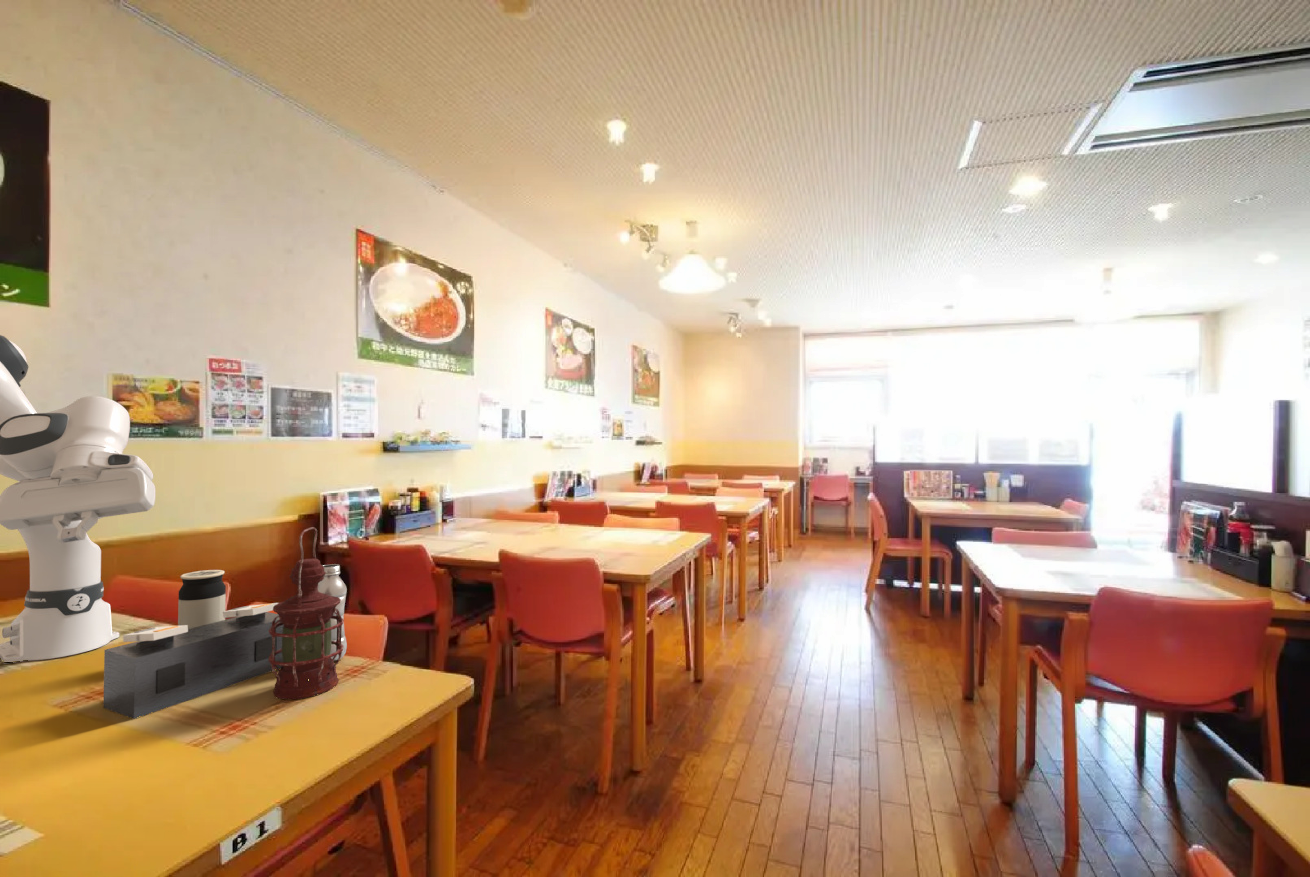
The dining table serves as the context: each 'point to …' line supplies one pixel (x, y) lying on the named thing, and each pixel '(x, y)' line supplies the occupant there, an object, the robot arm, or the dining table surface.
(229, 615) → the block
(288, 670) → the lantern
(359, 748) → the dining table surface
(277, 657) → the switch box
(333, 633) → the silver tall rounded piece
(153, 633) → the rocker on
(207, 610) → the travel mug
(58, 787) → the dining table surface
